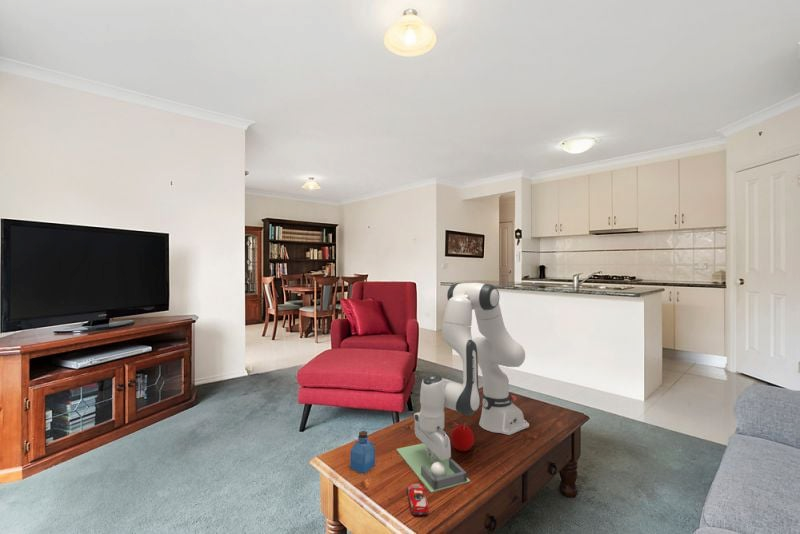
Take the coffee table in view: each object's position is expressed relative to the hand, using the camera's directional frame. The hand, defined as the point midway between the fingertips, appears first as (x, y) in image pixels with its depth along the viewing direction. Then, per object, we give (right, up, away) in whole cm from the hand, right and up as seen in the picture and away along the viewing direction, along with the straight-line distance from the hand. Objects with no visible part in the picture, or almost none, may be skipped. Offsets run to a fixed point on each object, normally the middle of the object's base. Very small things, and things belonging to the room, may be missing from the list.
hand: (431, 459), depth 126 cm
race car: (-6, -2, -20) cm, 21 cm away
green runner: (0, -2, 0) cm, 2 cm away
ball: (+1, +1, -8) cm, 8 cm away
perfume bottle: (-25, -2, -2) cm, 25 cm away
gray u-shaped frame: (+3, -2, -8) cm, 9 cm away
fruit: (+13, -2, +11) cm, 18 cm away
